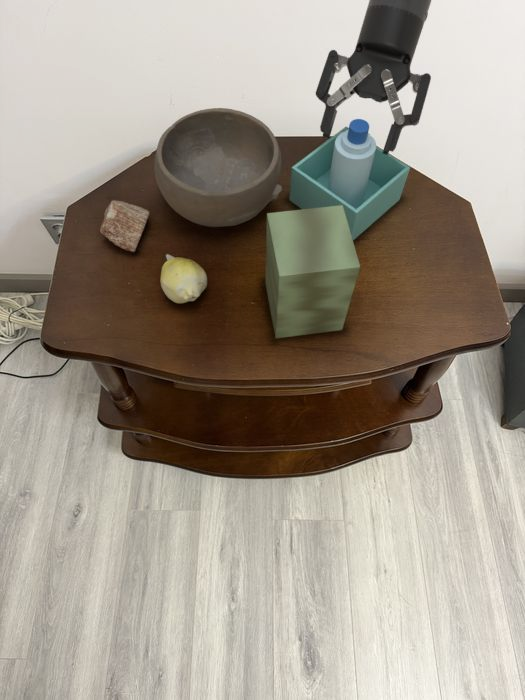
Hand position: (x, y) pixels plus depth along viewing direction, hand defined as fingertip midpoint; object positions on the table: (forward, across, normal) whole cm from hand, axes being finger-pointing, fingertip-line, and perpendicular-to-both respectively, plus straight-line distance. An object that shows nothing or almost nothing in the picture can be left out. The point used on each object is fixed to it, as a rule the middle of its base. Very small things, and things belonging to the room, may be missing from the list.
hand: (355, 145), depth 73 cm
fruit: (+24, -16, -10) cm, 31 cm away
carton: (+7, 0, +6) cm, 10 cm away
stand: (+22, 0, -8) cm, 23 cm away
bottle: (+7, 0, +6) cm, 9 cm away
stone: (+20, -28, -7) cm, 35 cm away
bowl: (+12, -17, +2) cm, 21 cm away
